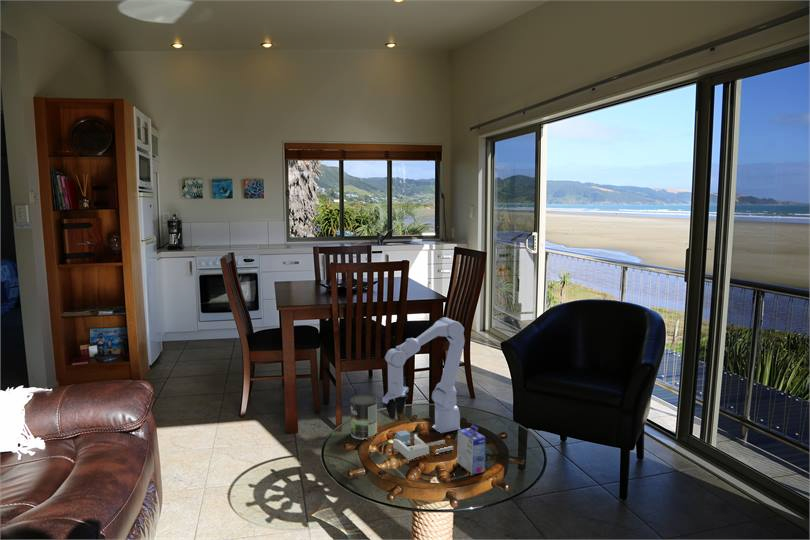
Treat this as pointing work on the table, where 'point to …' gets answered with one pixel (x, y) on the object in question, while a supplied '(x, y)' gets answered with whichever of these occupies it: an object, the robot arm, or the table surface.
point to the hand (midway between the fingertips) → (396, 415)
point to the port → (411, 448)
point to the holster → (440, 448)
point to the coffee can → (363, 416)
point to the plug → (404, 437)
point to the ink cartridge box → (471, 450)
